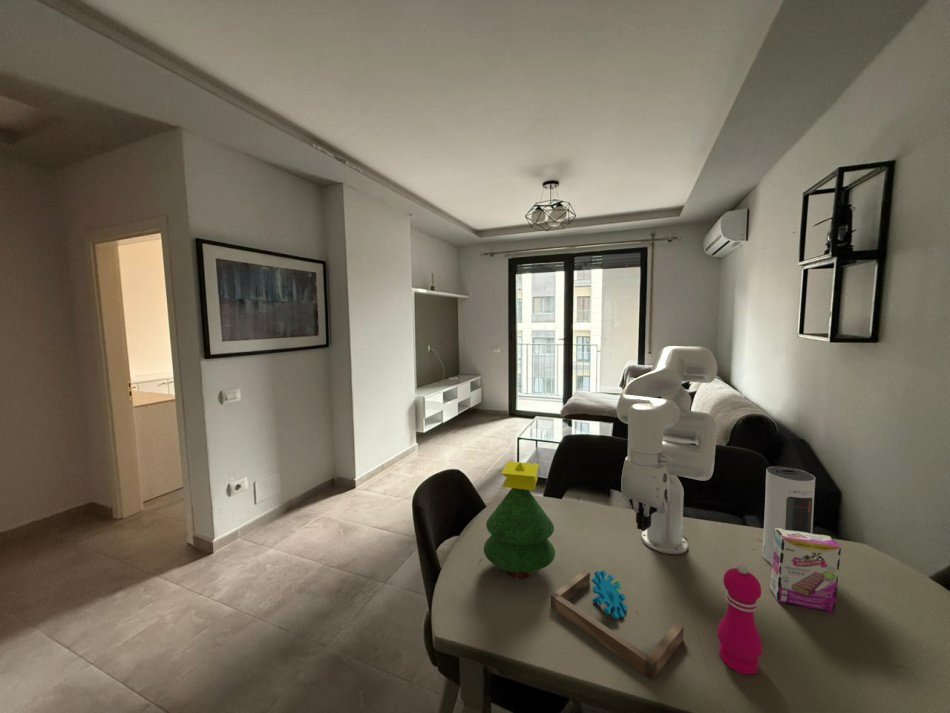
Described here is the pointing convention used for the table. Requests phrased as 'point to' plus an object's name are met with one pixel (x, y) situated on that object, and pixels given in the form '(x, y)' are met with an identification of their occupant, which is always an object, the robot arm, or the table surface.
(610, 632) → the frame
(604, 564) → the table surface
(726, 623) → the pepper mill
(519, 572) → the decorative tree
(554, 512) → the table surface
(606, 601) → the gear
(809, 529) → the speaker
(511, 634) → the table surface
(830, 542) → the candy bar box
